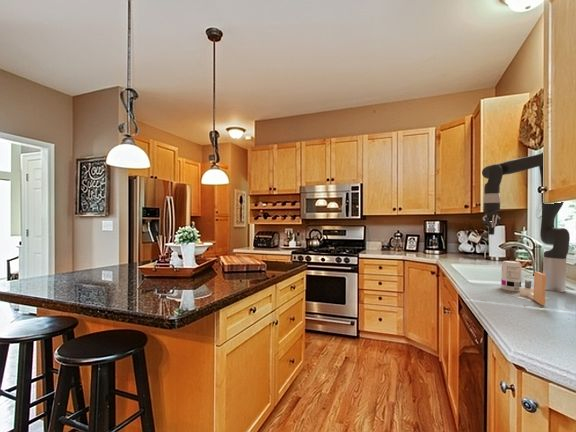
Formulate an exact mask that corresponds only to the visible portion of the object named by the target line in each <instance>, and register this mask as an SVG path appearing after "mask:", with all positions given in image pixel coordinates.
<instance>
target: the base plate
mask: <svg viewBox="0 0 576 432" xmlns="http://www.w3.org/2000/svg"><path fill="white" fill-rule="evenodd" d="M524 287H525V288H532V281H531V280H524ZM504 295H506V296H510V297H514V298H519V299H521V300H526V301H529V302H533V301H534V302H536V301H535V300H533V299H531V298H530V297H526V296H522V295H520V291H517V292H510V293H507V292H506V293H504ZM548 299H549V300H550V299H552V297H549V296H545V300H548Z"/></svg>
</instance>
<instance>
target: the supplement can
mask: <svg viewBox="0 0 576 432" xmlns="http://www.w3.org/2000/svg"><path fill="white" fill-rule="evenodd" d="M522 268H523V266H522V264H521V262H520V261H513V260H503V262H502V264H501V278H500V279H501V282H500V283H501V284H500V289H503V290H505V291H510V292H511V291H512V292H520V287H522V273H523V272H522V270H523V269H522Z"/></svg>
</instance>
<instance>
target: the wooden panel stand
mask: <svg viewBox="0 0 576 432" xmlns="http://www.w3.org/2000/svg"><path fill="white" fill-rule="evenodd" d="M545 288H546V275H545V274H543V272H539V271H534V272H533V287H531V288H525V286H521V287H520V291H519V292H520V295H522V296H526V297H530V298H531V299H533V300H535V301H534V302H537V303H538V304H539V305H541V306H545V305H546V299H545V297H546V290H545Z"/></svg>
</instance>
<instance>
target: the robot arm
mask: <svg viewBox="0 0 576 432" xmlns="http://www.w3.org/2000/svg"><path fill="white" fill-rule="evenodd" d="M537 167H538V169H539V175H540V188H541V187H543V150H542V151H540V152H539V154H535V155H529V156H524V157H520V158H519V157H518V158H515V159H514V158H513V159H510V160H507V161H504V162H500V163H495V164H491V165H487V166H484V168H482V171H481V175H482V177H483V178H485V179H487V182H486V183H485V184H484V189H483V191H484V193H483V194H484V196H483V209H482V210H483V212H484V215H483V216H481V221H482V222H483V224H484V226H485V227H487V229H488V230H487V233H488V235H491V236H493V235H495V229H496V227H498V226H499V224H500V222H501V221H502V217H500V216H499V212H500V211H501V184H502V179H503V176H505V175H511V174H512V175H513V174H516V173H520V172H523V171H528V170H531V169H534V168H537ZM540 200H541V222H540V234H539V235H540V240H541V242H542V243H543V244H544V245H546V244H547V245H551V246H552V248H551V249H550V250H549V249H548V250H546V251H543V263H542V265H543V266H542V268H543V269H542V274H545V275H546V288H545V291H550V292H557V293H565V292H566V286H567V285H566V283H567V282H566V281H567V278H566V277H567V273H566V272H567V256H568V254H569V248H570V239H571V238H570V232H569V230H568V229H566V228H565V227H555V219H556V215H558V213H559V212H560V210H561V209H562V207H563V205H564V202H561V203H554V204H544V203H543V193H541V192H540Z"/></svg>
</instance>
